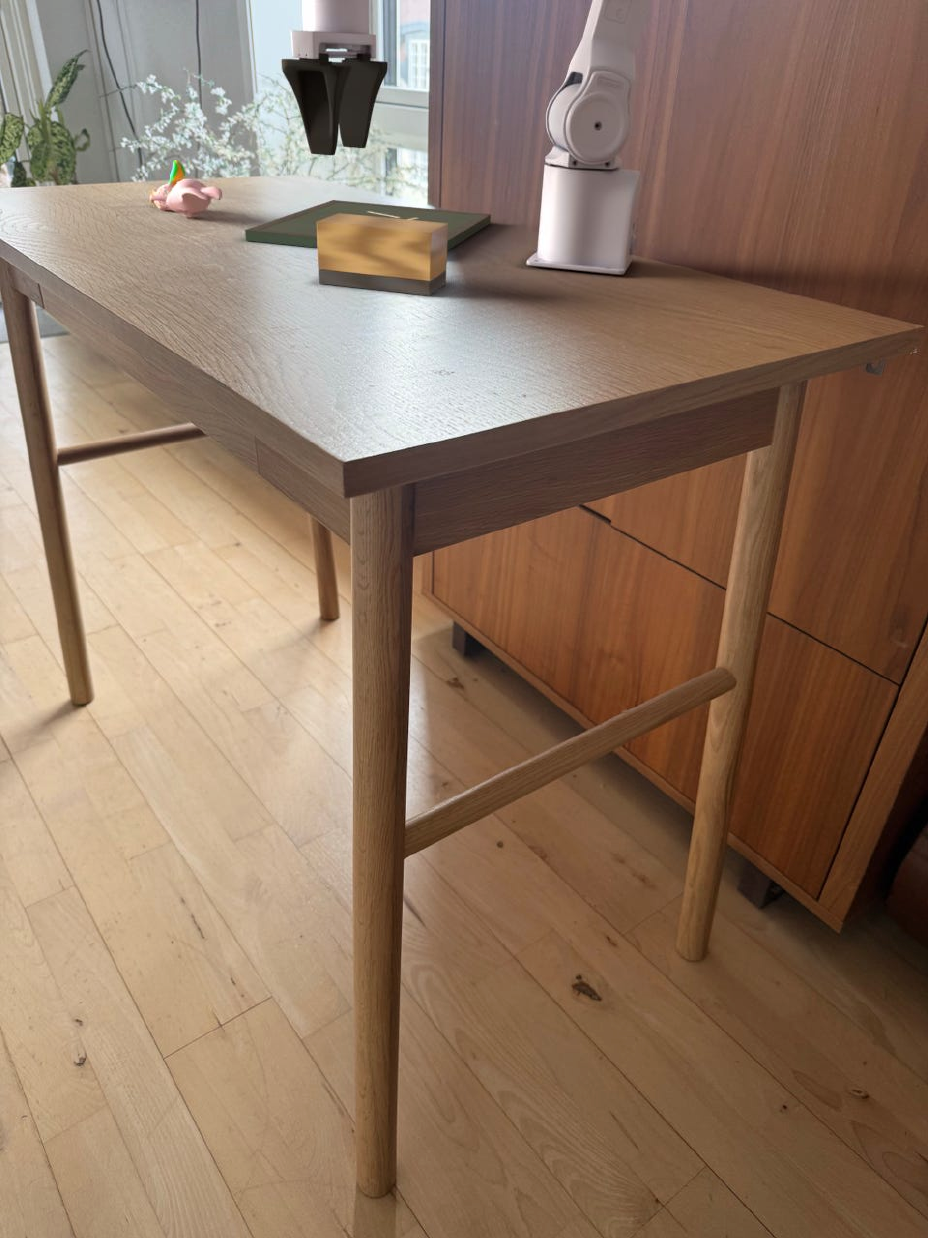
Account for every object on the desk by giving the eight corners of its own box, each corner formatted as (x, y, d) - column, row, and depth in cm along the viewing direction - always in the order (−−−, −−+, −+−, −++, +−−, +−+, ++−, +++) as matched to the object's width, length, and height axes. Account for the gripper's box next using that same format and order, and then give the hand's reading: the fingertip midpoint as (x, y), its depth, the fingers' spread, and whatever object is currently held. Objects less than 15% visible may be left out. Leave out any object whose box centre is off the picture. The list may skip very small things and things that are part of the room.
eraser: (446, 283, 82) (448, 223, 80) (429, 295, 78) (431, 232, 76) (339, 272, 84) (338, 212, 82) (318, 283, 80) (316, 221, 78)
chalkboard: (490, 223, 111) (491, 214, 110) (433, 259, 91) (433, 248, 90) (333, 208, 115) (333, 199, 114) (245, 240, 95) (244, 229, 94)
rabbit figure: (139, 220, 109) (188, 217, 98) (129, 163, 107) (177, 154, 96) (190, 217, 113) (242, 214, 101) (181, 162, 110) (234, 153, 99)
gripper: (324, -26, 85) (329, 141, 92) (252, -39, 73) (264, 154, 80) (397, -23, 84) (396, 146, 91) (336, -36, 72) (340, 160, 79)
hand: (339, 150), depth 85 cm, fingers open, 7 cm apart
